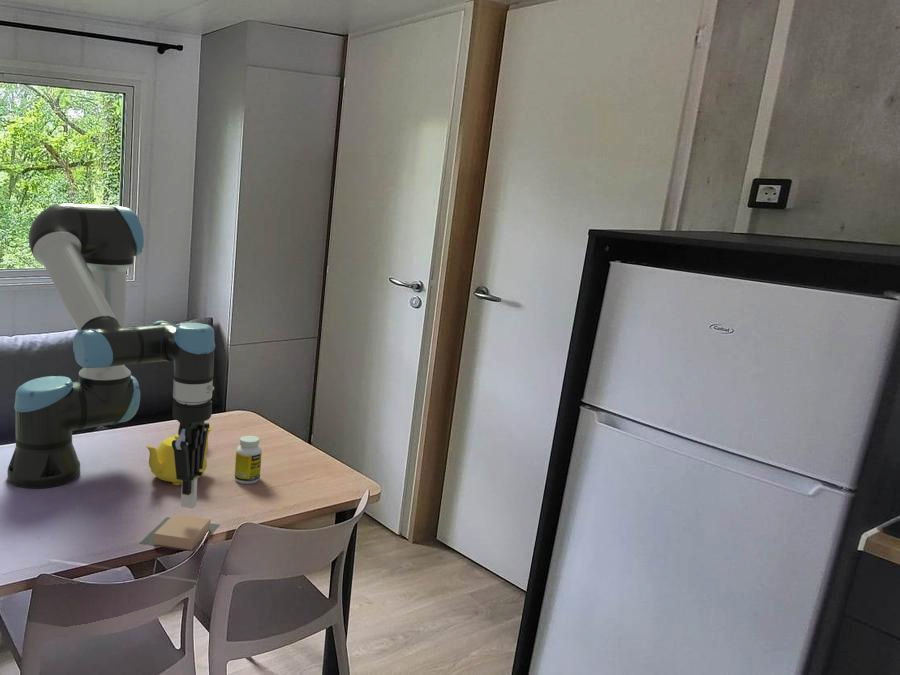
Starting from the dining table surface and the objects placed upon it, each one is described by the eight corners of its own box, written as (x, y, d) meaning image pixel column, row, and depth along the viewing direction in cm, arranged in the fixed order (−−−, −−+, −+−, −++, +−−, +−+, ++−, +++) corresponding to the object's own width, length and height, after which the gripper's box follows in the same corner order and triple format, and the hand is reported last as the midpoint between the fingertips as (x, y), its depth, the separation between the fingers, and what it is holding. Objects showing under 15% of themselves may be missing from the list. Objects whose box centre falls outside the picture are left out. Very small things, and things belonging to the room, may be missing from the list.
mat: (139, 545, 145) (139, 543, 145) (166, 518, 157) (166, 517, 157) (196, 553, 144) (196, 551, 144) (219, 526, 156) (219, 524, 156)
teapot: (168, 501, 165) (169, 455, 162) (125, 483, 171) (126, 438, 169) (233, 476, 182) (235, 433, 180) (192, 460, 189) (194, 419, 186)
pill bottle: (252, 486, 177) (255, 444, 175) (230, 482, 178) (232, 440, 176) (264, 477, 183) (266, 436, 181) (242, 473, 184) (244, 432, 182)
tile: (174, 524, 154) (153, 544, 145) (174, 513, 153) (154, 533, 144) (210, 530, 153) (191, 550, 144) (210, 519, 153) (192, 539, 144)
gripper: (196, 411, 139) (192, 522, 144) (223, 392, 151) (218, 495, 156) (159, 406, 139) (156, 517, 144) (188, 388, 152) (185, 491, 157)
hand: (188, 506), depth 150 cm, fingers closed
